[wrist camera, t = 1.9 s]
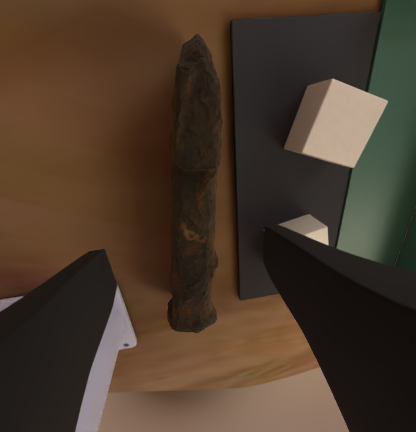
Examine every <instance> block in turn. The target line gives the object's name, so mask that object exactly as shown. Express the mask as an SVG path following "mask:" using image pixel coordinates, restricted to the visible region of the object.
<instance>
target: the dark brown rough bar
mask: <svg viewBox="0 0 416 432" xmlns="http://www.w3.org/2000/svg"><path fill="white" fill-rule="evenodd" d="M172 105H173V110H174V127H173V131H172V134H171V145H170V149H171V154H172V295H173V298H172V299H171V300H170V301H169V303H168V321H169V323H170V326H171V327H172V329H173V330H175V331H180V332H194V333H198V332H200V331H202V330H204V329H205V328H206V327H208V326H210V325H211V324H213V323H215V322H216V320H217V313H216V309H215V308H214V306H213V305H212V301H211V297H212V279H213V275H214V272H215V268H217V266H218V258H217V255H216V252H215V249H214V234H215V199H216V183H217V167H218V166H219V164H220V158H221V152H220V151H221V129H222V114H221V93H220V83H219V79H218V77H217V73H216V71H215V69H214V65H213V61H212V55H211V53H210V51H209V49H208V47H207V45H206V44H205V42H204V40H203V39H202V38H201V37H200V35H199V34H196V35H195V36H194V37H193V38H192V39H191V40H189V41H188V42H186V43H184V44H183V47H182V51H181V55H180V58H179V61H178V64H177V67H176V75H175V84H174V94H173V100H172Z"/></svg>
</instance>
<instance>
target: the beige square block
mask: <svg viewBox="0 0 416 432" xmlns="http://www.w3.org/2000/svg"><path fill="white" fill-rule="evenodd" d="M278 225H281V226H283V227H286V228H288V229H291V230H293V231H295V232H298V233H300V234H302V235H305V236H307V237H309V238H312V239H314V240H316V241H319V242H321V243H324V244H326V245H328V227H327V226H326V225H324V224H323V223H321V222H320V221H318V220H317V219H315V218H314V217H312V216H311V215H310V214H307V215H304V216H301V217H298V218H296V219H293V220H290V221H287V222H284V223H281V224H278Z"/></svg>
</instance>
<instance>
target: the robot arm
mask: <svg viewBox="0 0 416 432" xmlns="http://www.w3.org/2000/svg"><path fill="white" fill-rule="evenodd" d="M263 263H264V265H265V268H266V270H267V272H268V274H269V276H270V279H271V281H272V282H273V284H274V286H275V287H276V289H277V291H278V292H279V294H280V296H281V297H282V299H283V300H284V302H285V304H286V305H287V307H288V308H289V310H290V312H291V313H292V315H293V316H294V318H295V320H296V321H297V323H298V324H299V326H300V328H301V330H302V331H303V333H304V335H305V337H306V339H307V341H308V343H309V345H310V347H311V349H312V351H313V353H314V355H315V357H316V359H317V361H318V363H319V366H320V368H321V370H322V372H323V374H324V376H325V378H326V380H327V382H328V385H329V387H330V389H331V391H332V393H333V395H334V398H335V400H336V402H337V405H338V407H339V409H340V411H341V413H342V416H343V418H344V420H345V422H346V425H347V427H348V429H349V432H416V272H415V271H411V270H407V269H402V268H398V267H394V266H390V265H387V264H383V263H379V262H376V261H373V260H369V259H366V258H363V257H360V256H356V255H353V254H350V253H347V252H345V251H342V250H339V249H337V248H334V247H331V246H329V245H326V244H324V243H321V242H319V241H316V240H314V239H312V238H309V237H307V236H305V235H302V234H300V233H298V232H295V231H293V230H291V229H288V228H286V227H283V226H281V225H277V224H276V225H269V226H264V252H263ZM136 344H137V338H136V335H135V332H134V330H133V327H132V324H131V321H130V318H129V315H128V312H127V309H126V306H125V304H124V301H123V298H122V295H121V292H120V289H119V286H118V284H117V283H116V280H115V277H114V274H113V272H112V269H111V266H110V263H109V260H108V257H107V254H106V252H105V249H101V250H94V251H89V252H88V253H86V254H84V255H83V256H81V257H80V258H78V259H77V260H75V261H74V262H72V263H71V264H70V265H68V266H67V267H65V268H64V269H63V270H61V271H60V272H58V273H57V274H56V275H54V276H53V277H51V278H50V279H49V280H47V281H46V282H44V283H43V284H41V285H40V286H38V287H37V288H36V289H34V290H33V291H31V292H30V293H28V294H27V295H25V296H20V297H14V298H8V299H1V300H0V432H98V429H99V425H100V421H101V417H102V413H103V409H104V406H105V402H106V398H107V394H108V390H109V386H110V382H111V378H112V374H113V370H114V366H115V363H116V359H117V355H118V351H119V350H120V349H126V348H131V347H134V346H136Z"/></svg>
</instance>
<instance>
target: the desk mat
mask: <svg viewBox="0 0 416 432" xmlns="http://www.w3.org/2000/svg"><path fill="white" fill-rule="evenodd" d="M379 18H380V12H364V13H345V14H326V15H307V16H288V17H269V18H250V19H232V20H231V22H230V37H231V68H232V98H233V128H234V159H235V189H236V220H237V250H238V280H239V299H240V300H245V299H251V298H257V297H262V296H268V295H274V294H279V292H278V291H277V289H276V287H275V286H274V284H273V282H272V281H271V279H270V276H269V274H268V272H267V270H266V268H265V265H264V263H263V252H264V226H269V225H276V224H277V225H278V224H281V223H284V222H287V221H290V220H293V219H296V218H298V217H301V216H304V215H307V214H310V215H311V216H312V217H314V218H315V219H317V220H318V221H320V222H321V223H323V224H324V225H326V226H327V227H328V245H329V246H331V247H335V241H336V236H337V231H338V226H339V221H340V216H341V211H342V206H343V201H344V196H345V191H346V185H347V180H348V175H349V170H350V167H346V166H342V165H339V164H335V163H331V162H327V161H324V160H320V159H317V158H313V157H310V156H307V155H303V154H300V153H296V152H293V151H289V150H286V149H284V146H285V144H286V141H287V138H288V136H289V133H290V130H291V128H292V125H293V123H294V120H295V117H296V115H297V112H298V110H299V107H300V104H301V102H302V99H303V96H304V94H305V91H306V89H307V86H308V85H312V84H315V83H319V82H322V81H326V80H329V79H335V80H337V81H340V82H342V83H345V84H347V85H350V86H352V87H355V88H357V89H360V90H362V91H365V89H366V84H367V79H368V74H369V68H370V63H371V58H372V53H373V48H374V43H375V38H376V33H377V28H378V23H379Z"/></svg>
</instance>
